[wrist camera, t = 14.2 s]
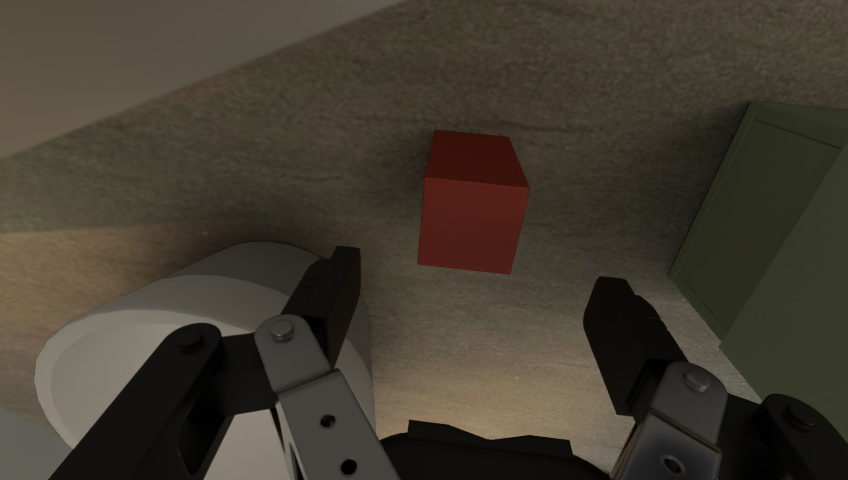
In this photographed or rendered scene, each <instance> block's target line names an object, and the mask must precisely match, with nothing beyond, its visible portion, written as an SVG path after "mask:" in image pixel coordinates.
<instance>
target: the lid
mask: <svg viewBox="0 0 848 480" xmlns="http://www.w3.org/2000/svg"><path fill="white" fill-rule="evenodd" d="M719 348H720V349H721V350H722V352H723V353H724V354H725V355H726V357H727V358H728V359H729V360H730V361H731V363H732V364H733V365H734V366H735V368H736V369H737V370H738V371H739V373H740V374H741V375H742V376H743V377H744V379H745V380H746V381H747V382H748V384H749V385H750V386H751V387H752V388H753V390H754V391H755V392H756V393H757V395H758V396H759V397H760V398H761V400H762V401H763V400H764V399H765V398H766V397H767V396H768V395H770V394H776V393H777V394H784V395H788V396H791V397H794V398H796V399H799V400H801V401H803V402H805V403H806V404H808V405H810V406H811V407H813V408H814V409H816V410H817V411H818V412H820V413H821V414H822V415H823V416H824V417H825V418H826V419H827V420H828V421H829V422H830V423H831V424H832V425H833V426H834V428H835V429H836V430H837V431H838V432H839V434H840V435H841V436H842V437H843V438H844V440H845V441H846V442H847V443H848V140H847V142H846V144H845V145H844V147H843V148H842V150H841V152H840V153H839V155H838V156H837V158H836V160H835V161H834V163H833V164H832V166H831V168H830V169H829V171H828V172H827V174H826V176H825V177H824V179H823V180H822V182H821V184H820V185H819V187H818V188H817V190H816V192H815V193H814V195H813V196H812V198H811V200H810V201H809V203H808V204H807V206H806V208H805V209H804V211H803V212H802V214H801V216H800V217H799V219H798V220H797V222H796V224H795V225H794V227H793V228H792V230H791V232H790V233H789V235H788V236H787V238H786V240H785V241H784V243H783V244H782V246H781V248H780V249H779V251H778V252H777V254H776V256H775V257H774V259H773V260H772V262H771V264H770V265H769V267H768V268H767V270H766V272H765V273H764V275H763V276H762V278H761V280H760V281H759V283H758V284H757V286H756V288H755V289H754V291H753V292H752V294H751V296H750V297H749V299H748V300H747V302H746V304H745V305H744V307H743V308H742V310H741V312H740V313H739V315H738V316H737V318H736V320H735V321H734V323H733V324H732V326H731V328H730V329H729V331H728V332H727V334H726V336H725V337H724V339H723V340H722V342H721V344H720V345H719Z"/></svg>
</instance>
